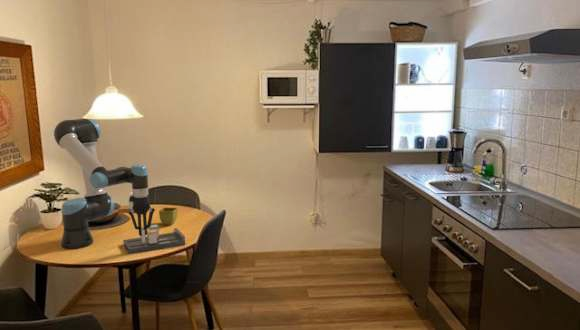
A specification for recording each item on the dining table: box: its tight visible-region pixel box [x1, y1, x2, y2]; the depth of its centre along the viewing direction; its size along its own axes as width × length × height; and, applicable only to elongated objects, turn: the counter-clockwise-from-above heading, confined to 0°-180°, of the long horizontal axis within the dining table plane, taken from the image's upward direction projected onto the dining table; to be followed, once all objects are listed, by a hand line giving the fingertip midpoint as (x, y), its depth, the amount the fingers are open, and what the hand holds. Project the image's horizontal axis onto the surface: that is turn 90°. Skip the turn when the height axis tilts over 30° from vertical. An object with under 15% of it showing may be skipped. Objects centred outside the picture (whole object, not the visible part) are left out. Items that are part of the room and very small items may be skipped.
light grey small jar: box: [148, 224, 160, 238], centre depth 244 cm, size 4×4×6 cm
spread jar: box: [128, 192, 134, 211], centre depth 306 cm, size 12×11×12 cm
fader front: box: [146, 229, 157, 244], centre depth 236 cm, size 4×4×6 cm
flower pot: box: [158, 207, 179, 226], centre depth 276 cm, size 9×9×9 cm
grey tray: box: [122, 227, 186, 255], centre depth 241 cm, size 28×16×5 cm, turn 119°
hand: (143, 241), depth 234 cm, fingers closed
